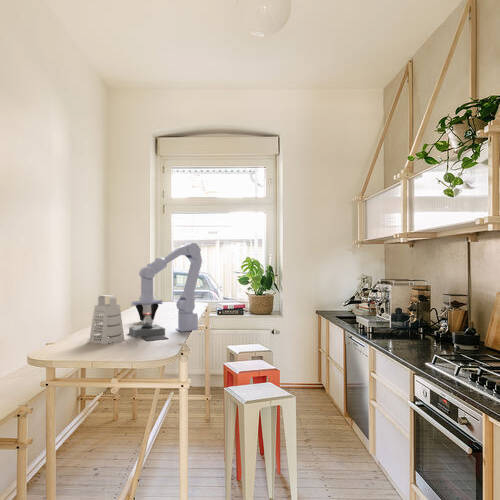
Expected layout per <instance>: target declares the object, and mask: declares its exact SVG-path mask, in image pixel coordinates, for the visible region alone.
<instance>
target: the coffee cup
mask: <svg viewBox="0 0 500 500" xmlns="http://www.w3.org/2000/svg"><path fill="white" fill-rule="evenodd" d="M138 300H139V301H141V294H140V295H139V297H138ZM153 300H157V297H156V296H155V294H153ZM144 304H150V303H144ZM142 306H143V313H151V305H142ZM140 321H141V320H140ZM153 322H154V320H152V323H153ZM141 323H142V321H141Z"/></svg>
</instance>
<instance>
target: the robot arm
mask: <svg viewBox="0 0 500 500" xmlns="http://www.w3.org/2000/svg"><path fill="white" fill-rule="evenodd" d="M201 250H202V248H201V247H200V246H199V245H198V244H197V243H196V242H190V243H187V242H186V243H183V244H182V245H180V246H178V247H177V248H175V249H174V250H173V251H170V252H169V253H168V254H166V256H164V257H156V258H155V260H154V261H151V263H147V264H146V265H147V266H144V267H142V268H141V269H140V270H139V272H138V273H139V274H138V275H139V277H140V295H141V301H140V300H134V301H133V300H132V301H131V303H130V305H131V306H132V307H135V308H136V310H137V313H138V316H139V320H140V321H143V306H142V305H151V313H152V320H153V321H154V320H155V316H156V313H157V311H158V309H159V308H160V307H159V306H160V305H163V299H155V300H153V295H154V278H155V276H156V275H157V274H158V273H160V272H161V271H163V270H164V269H165V268H167V265H168V264H169V263H170V262H172V261H173V260H175V259H177V258H178V257H180V256H184V257H185V258H187V259H188V261H189V262H190V265H189V269H188V272H187V276H186V280H185V284H184V288H183V292H182V293H181V294H180V296H179V298H178V300H177V301H176V308H177V310H178V311H177V312H178V313H177V315H178V316H177V317H178V318H177V320H178V321H177V323H178V324H177V325H178V326H177V328H176V327H175V331H176V330H177V331H179V332H190V331H199V328H198V327H199V319H198V318H199V317H198V312H196V311H194V310H195V308H196V307H195V306H196V303H195V300H196V298H195V292H196V291H195V290H196V286H197V282H198V278H199V275H200V271H201V267H202V264H203V263H202V262H203V260H202V258H203V257H202V255H201ZM144 303H150V304H144Z"/></svg>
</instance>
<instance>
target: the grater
mask: <svg viewBox="0 0 500 500" xmlns="http://www.w3.org/2000/svg"><path fill="white" fill-rule="evenodd" d="M106 297H108V299H109V303H106ZM93 307H94V308H93V316H92V321H91V322H92V323H91V328H90V334H89V340H88V342H89V343H93V342H94V343H95V344H99V343H101V345H109V344H108V343H110V344H113V343H112V342H115V343H118V342H117V341H119V342H124V341H125V333H124V328H123V327H124V326H123V320H122V313H121V312H122V311H121V305H120V304H117V296H116V295H112V294H111V295H110V294H104V295H103V294H102V295H99V296H98V300H97V305H94V306H93ZM108 337H109V338H108ZM100 339H101V340H100ZM123 340H124V341H123ZM94 343H93V344H94Z"/></svg>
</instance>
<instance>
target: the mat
mask: <svg viewBox="0 0 500 500" xmlns="http://www.w3.org/2000/svg"><path fill="white" fill-rule="evenodd" d="M140 338H141V339H143V340H144V341H146V342H154V341H163V340H169V338H168V337H167V336H165V335H154V336H143V337H140Z"/></svg>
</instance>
